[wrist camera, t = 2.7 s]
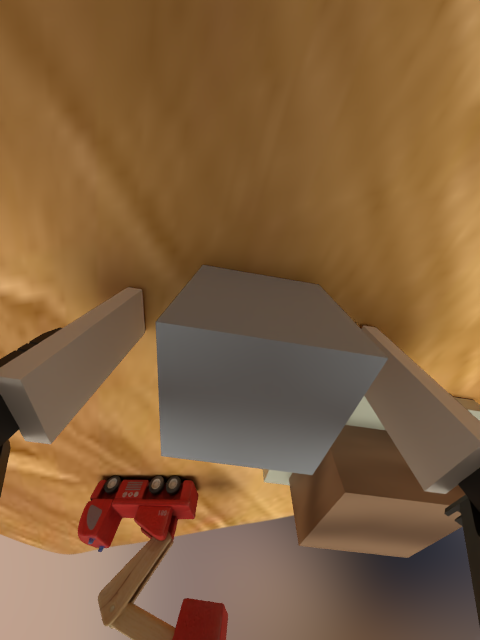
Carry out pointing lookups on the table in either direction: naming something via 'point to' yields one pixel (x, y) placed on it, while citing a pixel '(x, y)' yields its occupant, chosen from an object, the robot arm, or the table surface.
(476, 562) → the robot arm
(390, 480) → the walnut base
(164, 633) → the toy fire truck
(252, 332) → the slate brick
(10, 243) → the table surface
